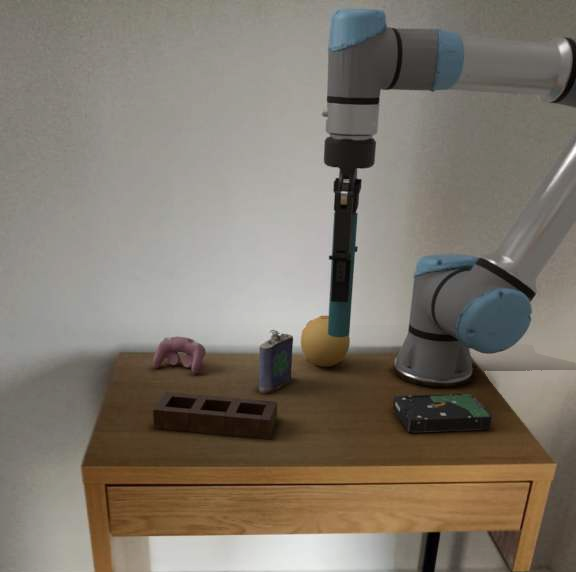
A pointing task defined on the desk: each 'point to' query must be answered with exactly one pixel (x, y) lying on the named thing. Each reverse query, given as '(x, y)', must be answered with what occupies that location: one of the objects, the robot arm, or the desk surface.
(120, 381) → the desk surface
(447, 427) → the disk drive
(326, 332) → the stress ball
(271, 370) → the flask
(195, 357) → the video game controller
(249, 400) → the pen block
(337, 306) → the dowel
